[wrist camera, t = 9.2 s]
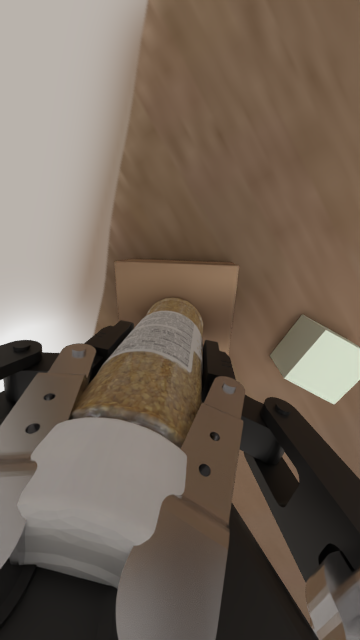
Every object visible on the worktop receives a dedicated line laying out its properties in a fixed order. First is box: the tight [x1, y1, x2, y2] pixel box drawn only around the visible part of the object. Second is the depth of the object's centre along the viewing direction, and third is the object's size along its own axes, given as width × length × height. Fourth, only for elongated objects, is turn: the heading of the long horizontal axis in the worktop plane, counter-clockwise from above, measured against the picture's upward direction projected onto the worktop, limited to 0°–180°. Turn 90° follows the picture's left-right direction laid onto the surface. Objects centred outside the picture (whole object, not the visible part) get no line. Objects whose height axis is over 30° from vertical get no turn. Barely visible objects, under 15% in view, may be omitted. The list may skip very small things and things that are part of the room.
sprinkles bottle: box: [17, 298, 203, 589], centre depth 10 cm, size 5×5×14 cm
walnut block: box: [114, 259, 239, 355], centre depth 18 cm, size 9×9×4 cm
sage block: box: [270, 314, 360, 404], centre depth 18 cm, size 5×5×4 cm
